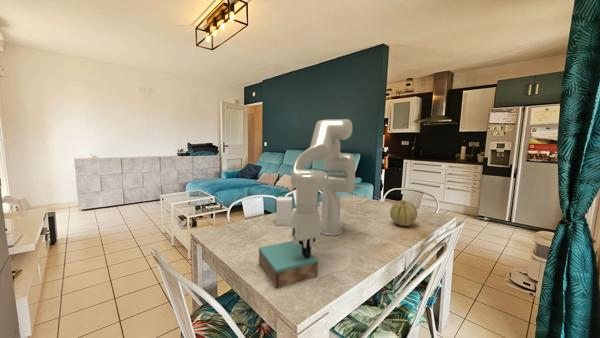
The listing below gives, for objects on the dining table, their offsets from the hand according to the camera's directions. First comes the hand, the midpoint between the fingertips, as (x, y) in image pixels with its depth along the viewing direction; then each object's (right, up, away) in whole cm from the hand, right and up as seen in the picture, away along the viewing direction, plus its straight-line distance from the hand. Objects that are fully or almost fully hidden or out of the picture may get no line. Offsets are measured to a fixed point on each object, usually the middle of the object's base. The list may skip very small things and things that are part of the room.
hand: (306, 256), depth 89 cm
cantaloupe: (+58, -1, +54) cm, 79 cm away
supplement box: (-11, 0, +55) cm, 56 cm away
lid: (-7, -1, +3) cm, 8 cm away
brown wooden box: (-7, -6, +4) cm, 10 cm away
